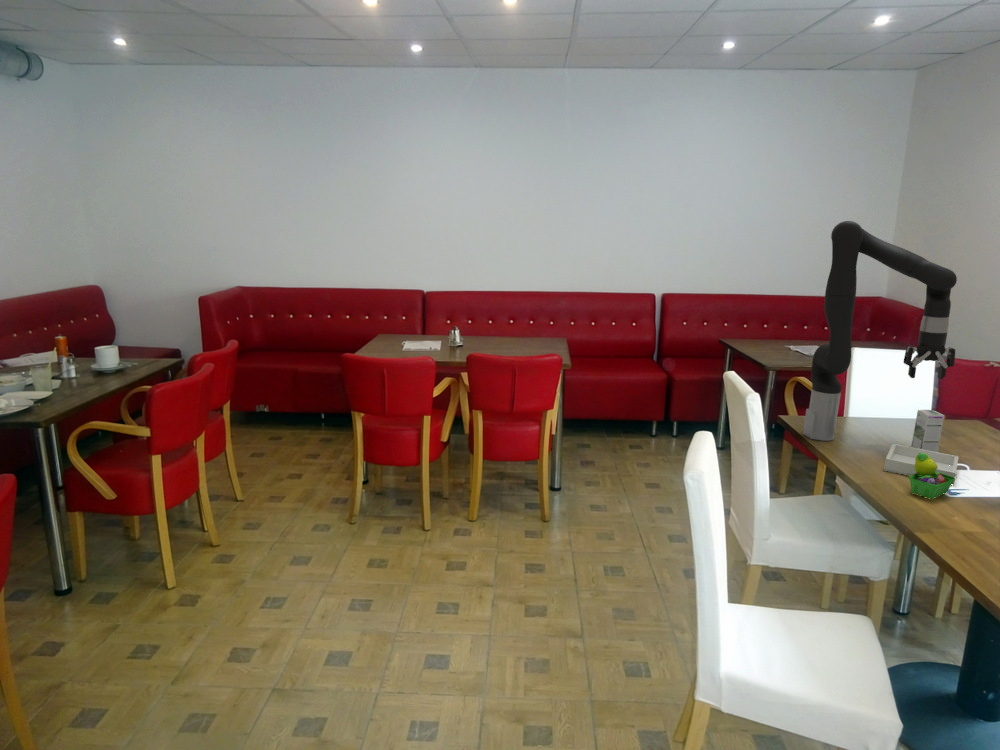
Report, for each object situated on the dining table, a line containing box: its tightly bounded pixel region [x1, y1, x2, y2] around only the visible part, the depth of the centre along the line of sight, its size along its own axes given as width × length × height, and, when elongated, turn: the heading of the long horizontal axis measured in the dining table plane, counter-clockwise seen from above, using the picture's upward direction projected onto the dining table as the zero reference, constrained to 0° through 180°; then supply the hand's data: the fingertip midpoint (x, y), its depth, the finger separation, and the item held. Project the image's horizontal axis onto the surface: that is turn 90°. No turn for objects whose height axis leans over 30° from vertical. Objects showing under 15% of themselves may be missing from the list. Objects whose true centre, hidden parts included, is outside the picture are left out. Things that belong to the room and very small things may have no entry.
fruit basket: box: [908, 453, 956, 500], centre depth 185 cm, size 11×9×11 cm
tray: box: [883, 443, 959, 485], centre depth 203 cm, size 18×18×4 cm
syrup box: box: [910, 409, 945, 452], centre depth 217 cm, size 6×6×14 cm
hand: (926, 378), depth 215 cm, fingers open, 8 cm apart
